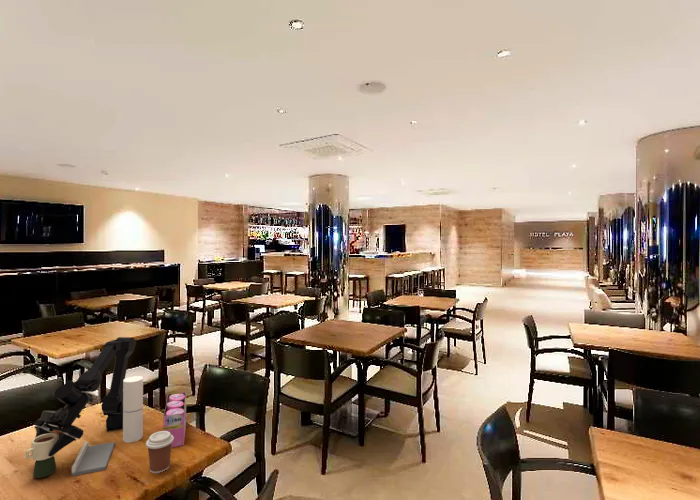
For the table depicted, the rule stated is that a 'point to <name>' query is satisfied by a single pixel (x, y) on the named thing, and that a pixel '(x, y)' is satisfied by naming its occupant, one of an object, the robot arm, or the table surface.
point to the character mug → (43, 454)
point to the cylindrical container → (132, 409)
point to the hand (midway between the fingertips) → (40, 453)
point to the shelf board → (92, 458)
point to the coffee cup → (159, 451)
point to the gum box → (175, 418)
